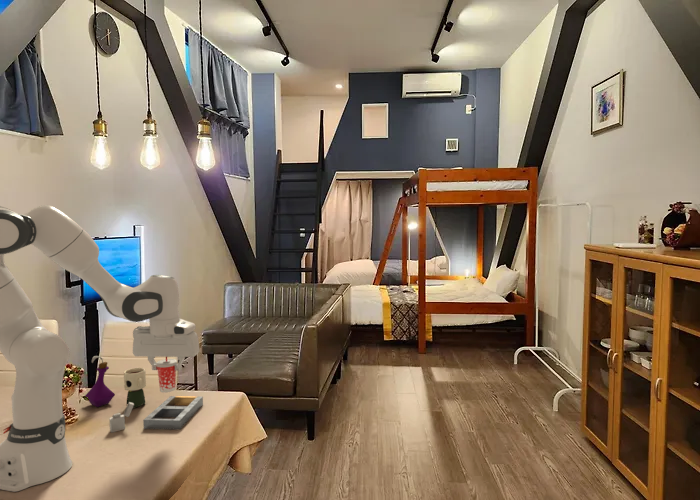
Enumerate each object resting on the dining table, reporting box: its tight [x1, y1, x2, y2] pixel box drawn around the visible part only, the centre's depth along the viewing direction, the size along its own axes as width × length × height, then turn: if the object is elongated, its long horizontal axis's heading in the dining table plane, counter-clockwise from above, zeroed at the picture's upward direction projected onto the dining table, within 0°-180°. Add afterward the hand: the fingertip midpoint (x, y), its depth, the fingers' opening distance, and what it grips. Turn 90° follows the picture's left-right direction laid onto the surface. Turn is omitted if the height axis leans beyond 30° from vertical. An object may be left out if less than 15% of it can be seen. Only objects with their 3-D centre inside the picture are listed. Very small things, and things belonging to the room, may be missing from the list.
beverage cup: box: [155, 357, 178, 393], centre depth 146 cm, size 6×6×14 cm
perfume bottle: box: [84, 355, 116, 408], centre depth 170 cm, size 8×8×18 cm
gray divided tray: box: [142, 395, 204, 430], centre depth 160 cm, size 12×20×3 cm, turn 177°
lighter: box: [109, 402, 134, 434], centre depth 151 cm, size 7×2×8 cm, turn 128°
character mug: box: [123, 367, 147, 409], centre depth 169 cm, size 11×7×13 cm, turn 45°
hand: (166, 369), depth 146 cm, fingers closed on beverage cup, 6 cm apart
